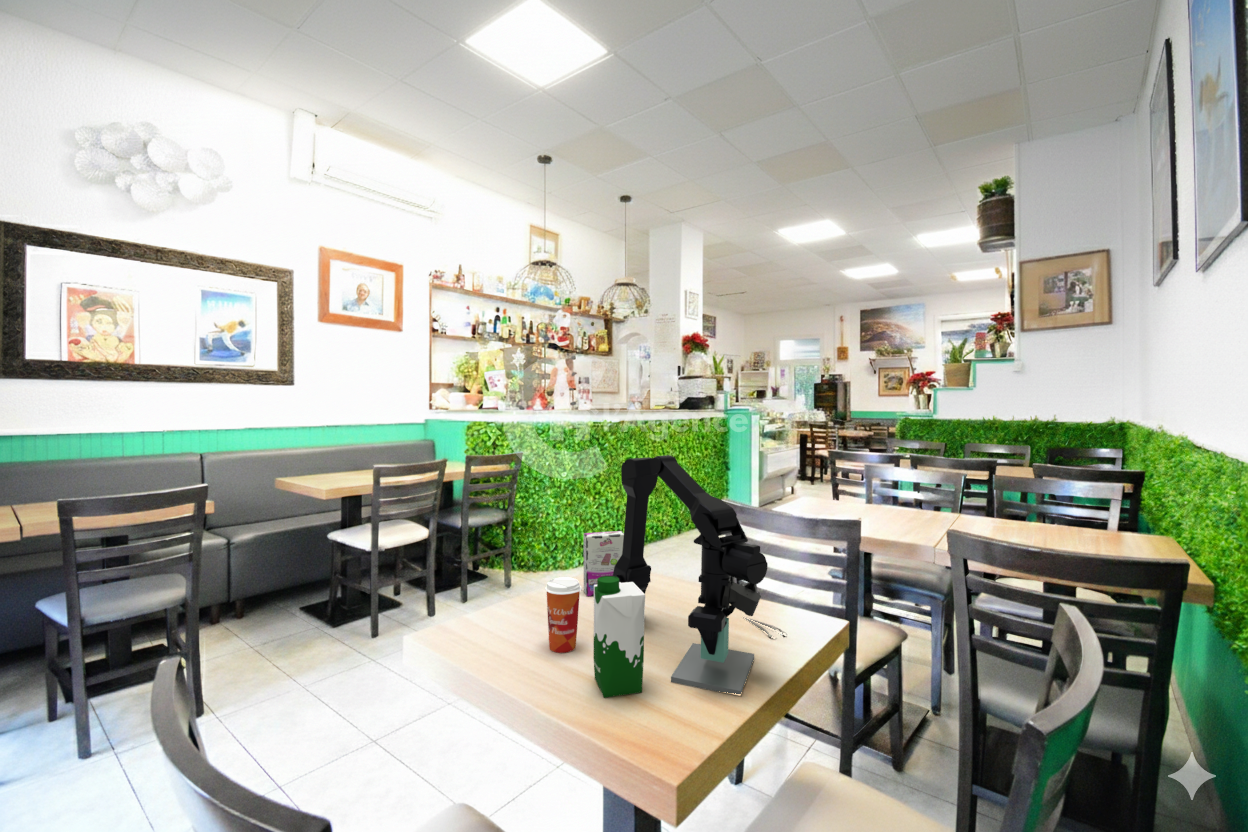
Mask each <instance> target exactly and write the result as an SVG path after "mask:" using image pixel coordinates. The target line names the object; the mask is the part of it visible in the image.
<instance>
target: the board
mask: <svg viewBox="0 0 1248 832" xmlns="http://www.w3.org/2000/svg"><path fill="white" fill-rule="evenodd" d="M753 660H754V661H755V653H751V652H748V651H747V652H746V651H741V650H735V649H729V648H728V655H727V657H726V659H725V661H724V663H722V662H717V661H712V660H707V659H701V643H696V642H692V643H691V645H690V647H689V648H688V649H687V651H686V653H685V654H684V656H683V657H682V659H681V660H680V662H679V664H678V665H677V667H676V668H675V670H674V671H673V673H672V675H671V676H670V683H674V684H678V685H679V684H680V685H683V686H688V687H694V688H698V689H704V690H707V691H711V692H712V691H713V692H717V691H718V692H717V693H721V692H726V693H727V692H728V693H734V694H735V693H736V694H741V692H742V693H743V691H744V689H743V687H744V688H745V686H744V684H745V685H746V683H745V682H747V680H748V678H747V676H748V677H749V675H750V672H749V671H751V669H752V667H751V665H752V666H753V664H752V662H753V663H754V661H753ZM750 668H751V669H750ZM748 674H749V675H748ZM746 679H747V680H746ZM742 690H743V691H742ZM719 691H720V692H719ZM726 693H725V694H726ZM741 695H742V694H741Z"/></svg>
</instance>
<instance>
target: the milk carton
mask: <svg viewBox="0 0 1248 832" xmlns="http://www.w3.org/2000/svg"><path fill="white" fill-rule="evenodd" d="M645 604H646V593H645V594H644V593H643V592H642V591H641V590H640V589H639V588H638V587H637V586H636V585H635V583H634V582H625V583H621V582H619V578H617V577H615V576H602V577H599V578H598V579H597V585H594V596H593V672H594V673H593V674H594V681H595V682H596V684H597V687H598V688H599V690H600V692H601V694H602V697H603V698H605V699H606V698H611V697H619V696H620V697H621V696H627V695H632V694H640V693H641V694H642V692H643V678H644V677H643V676H644V659H645V657H644V655H645V608H646V607H645V606H646V605H645Z"/></svg>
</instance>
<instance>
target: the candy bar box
mask: <svg viewBox="0 0 1248 832" xmlns="http://www.w3.org/2000/svg"><path fill="white" fill-rule="evenodd" d="M623 539H624V531H622V530H617V531H599V532H598V531H597V532H585V533H583V592H584V594H585V596H586V597H594V585H597V579H598V578H599V577H602V576H613V572H614V567H615V565H616V563H617V562H618V560H619V559H620V557H621V555H622V550H623Z"/></svg>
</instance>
